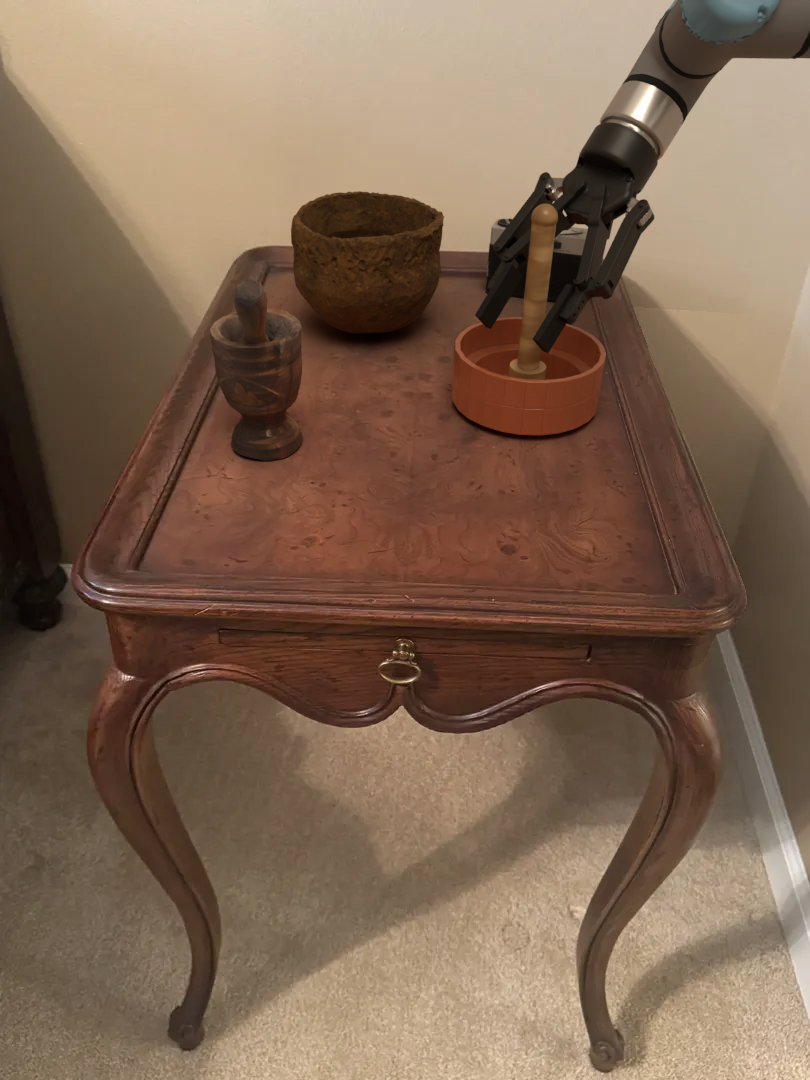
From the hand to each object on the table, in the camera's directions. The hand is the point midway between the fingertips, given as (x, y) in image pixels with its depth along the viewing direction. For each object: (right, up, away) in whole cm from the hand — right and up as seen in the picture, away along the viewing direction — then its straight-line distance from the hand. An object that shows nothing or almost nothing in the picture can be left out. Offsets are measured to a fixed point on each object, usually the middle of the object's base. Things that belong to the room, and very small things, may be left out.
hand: (511, 333), depth 92 cm
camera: (+8, +14, +35) cm, 38 cm away
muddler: (+2, -6, +7) cm, 9 cm away
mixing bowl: (+2, -6, +8) cm, 10 cm away
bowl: (-16, +6, +24) cm, 29 cm away
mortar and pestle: (-25, -13, -1) cm, 28 cm away
